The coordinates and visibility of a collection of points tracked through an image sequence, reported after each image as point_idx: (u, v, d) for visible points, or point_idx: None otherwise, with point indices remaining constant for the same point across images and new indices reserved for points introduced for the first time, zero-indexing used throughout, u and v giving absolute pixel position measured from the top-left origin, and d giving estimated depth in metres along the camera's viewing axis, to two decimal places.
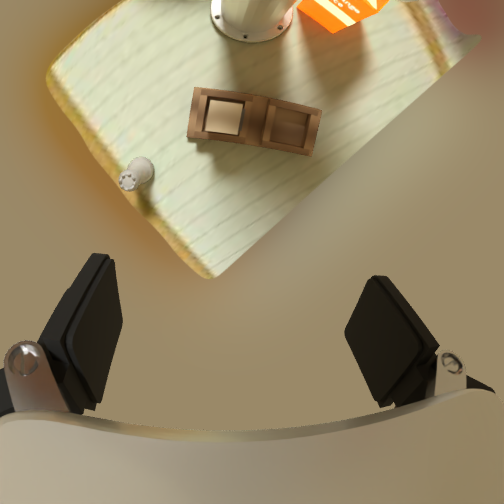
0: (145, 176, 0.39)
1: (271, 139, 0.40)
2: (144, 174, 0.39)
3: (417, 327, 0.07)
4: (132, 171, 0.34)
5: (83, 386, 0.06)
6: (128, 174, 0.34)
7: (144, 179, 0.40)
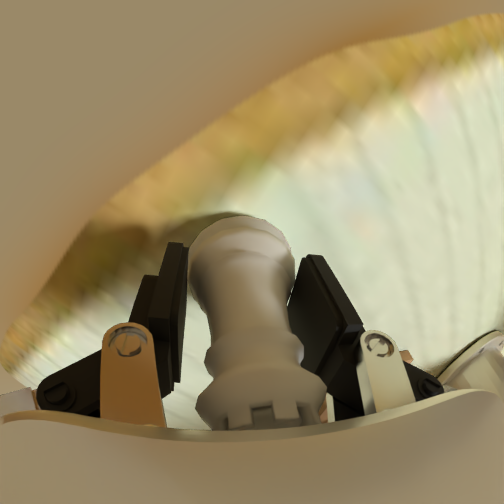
0: None
1: None
2: None
3: (339, 304, 0.08)
4: None
5: (172, 365, 0.07)
6: None
7: None
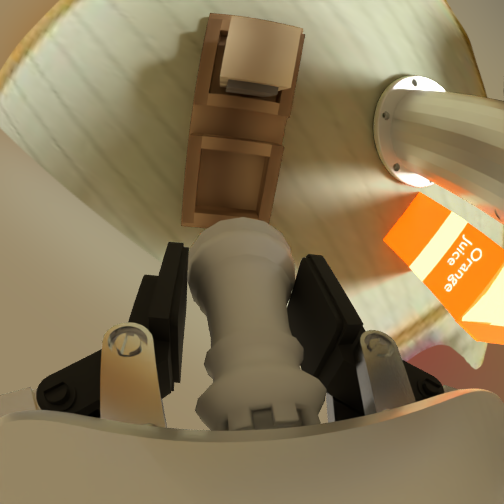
0: None
1: (203, 153, 0.22)
2: None
3: (339, 303, 0.08)
4: None
5: (172, 365, 0.07)
6: None
7: None
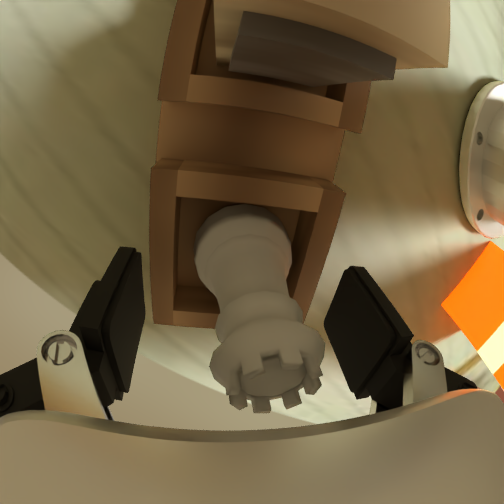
0: None
1: (185, 197, 0.12)
2: None
3: (390, 316, 0.07)
4: None
5: (114, 375, 0.06)
6: (313, 388, 0.07)
7: None
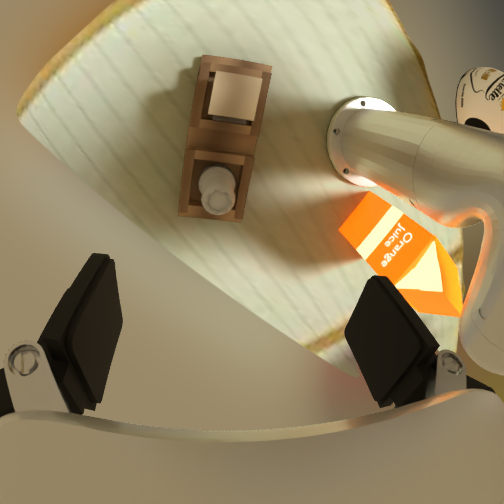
0: None
1: (196, 161, 0.31)
2: None
3: (417, 327, 0.07)
4: (231, 206, 0.27)
5: (83, 386, 0.06)
6: (230, 205, 0.26)
7: None
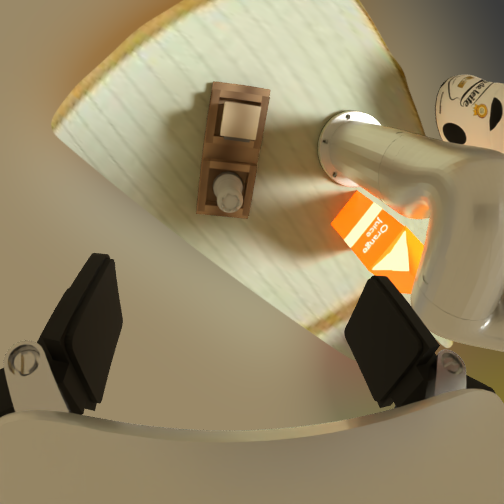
0: None
1: (210, 169, 0.39)
2: None
3: (417, 327, 0.07)
4: (240, 206, 0.34)
5: (83, 386, 0.06)
6: (239, 205, 0.33)
7: None
